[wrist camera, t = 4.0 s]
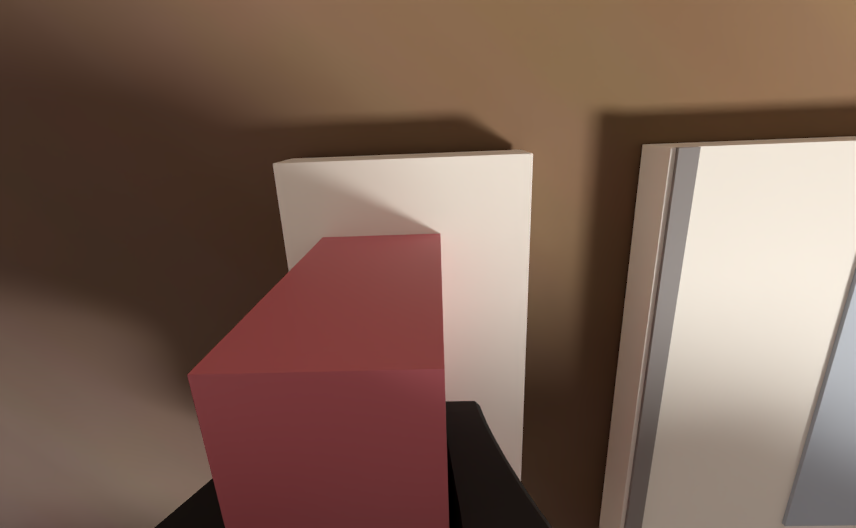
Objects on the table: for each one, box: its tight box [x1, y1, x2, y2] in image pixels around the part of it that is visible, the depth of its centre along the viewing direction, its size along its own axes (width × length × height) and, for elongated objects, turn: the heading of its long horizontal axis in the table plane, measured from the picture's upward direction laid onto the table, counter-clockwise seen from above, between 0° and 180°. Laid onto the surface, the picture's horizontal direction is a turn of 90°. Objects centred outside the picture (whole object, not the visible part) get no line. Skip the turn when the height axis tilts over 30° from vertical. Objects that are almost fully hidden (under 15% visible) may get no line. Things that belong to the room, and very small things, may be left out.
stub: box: [187, 150, 533, 528], centre depth 8 cm, size 11×5×6 cm, turn 2°
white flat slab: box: [599, 136, 856, 528], centre depth 10 cm, size 11×9×1 cm
